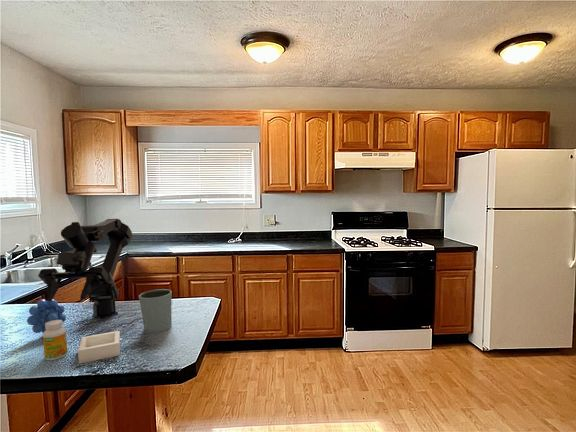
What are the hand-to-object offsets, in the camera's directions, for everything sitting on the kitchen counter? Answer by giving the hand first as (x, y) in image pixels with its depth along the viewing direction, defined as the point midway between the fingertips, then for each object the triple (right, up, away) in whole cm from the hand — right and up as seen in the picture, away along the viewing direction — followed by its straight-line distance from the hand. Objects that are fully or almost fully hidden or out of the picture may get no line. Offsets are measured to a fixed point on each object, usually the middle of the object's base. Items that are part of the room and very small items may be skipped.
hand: (65, 300), depth 103 cm
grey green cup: (+23, -12, +11) cm, 29 cm away
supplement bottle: (+2, -14, -7) cm, 16 cm away
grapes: (-10, -13, +8) cm, 19 cm away
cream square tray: (+14, -13, -5) cm, 20 cm away
